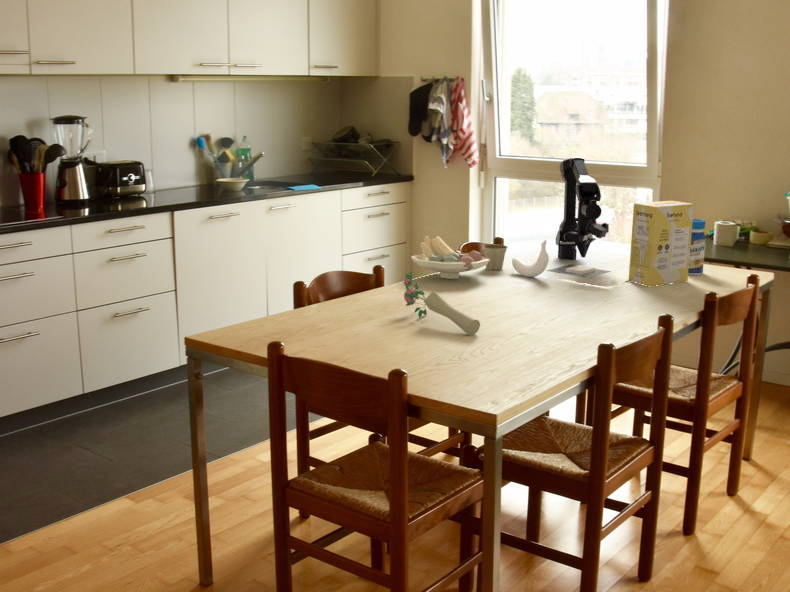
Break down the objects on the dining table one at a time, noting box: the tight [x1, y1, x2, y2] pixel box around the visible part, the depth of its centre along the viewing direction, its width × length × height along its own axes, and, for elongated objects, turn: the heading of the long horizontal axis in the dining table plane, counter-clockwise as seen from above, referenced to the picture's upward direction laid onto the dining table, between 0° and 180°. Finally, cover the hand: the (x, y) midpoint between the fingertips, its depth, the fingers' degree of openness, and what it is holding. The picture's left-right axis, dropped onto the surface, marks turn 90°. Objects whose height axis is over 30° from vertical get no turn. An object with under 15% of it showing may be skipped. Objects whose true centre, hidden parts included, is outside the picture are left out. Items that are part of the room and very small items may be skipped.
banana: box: [511, 239, 550, 278], centre depth 320 cm, size 5×19×15 cm, turn 36°
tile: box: [566, 264, 596, 275], centre depth 327 cm, size 7×1×9 cm
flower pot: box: [482, 243, 508, 271], centre depth 334 cm, size 9×9×9 cm
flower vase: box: [403, 270, 481, 336], centre depth 259 cm, size 12×12×35 cm
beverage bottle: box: [688, 218, 707, 276], centre depth 326 cm, size 8×8×20 cm
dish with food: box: [410, 235, 490, 280], centre depth 318 cm, size 28×28×14 cm
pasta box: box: [628, 200, 695, 287], centre depth 311 cm, size 18×10×28 cm, turn 119°
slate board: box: [545, 264, 611, 279], centre depth 328 cm, size 18×16×1 cm
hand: (583, 257), depth 327 cm, fingers closed
